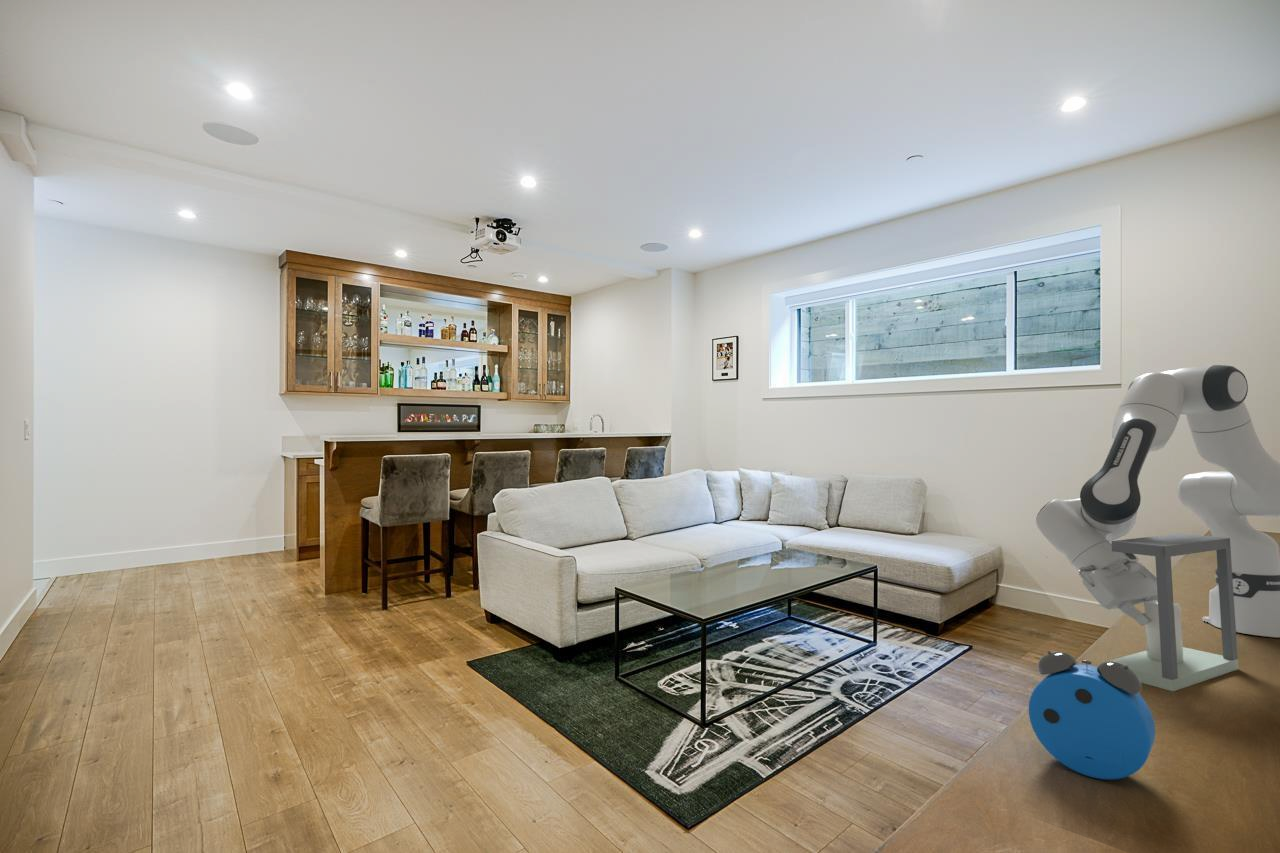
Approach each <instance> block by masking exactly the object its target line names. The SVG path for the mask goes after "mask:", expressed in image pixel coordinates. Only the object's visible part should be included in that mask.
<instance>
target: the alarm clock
mask: <svg viewBox="0 0 1280 853" xmlns="http://www.w3.org/2000/svg"><path fill="white" fill-rule="evenodd" d="M1081 663H1082V664H1078V661H1077V660H1076V659H1075V658H1074V657H1073V656H1072V655H1071V654H1069V653H1067V652H1063V651H1052V652H1051V651H1050V650H1048V651H1047V653H1046V654H1044V655H1042V656H1041V657H1040V658H1039V660H1038V662H1037V670H1038V672H1039V674H1040V675H1042V676H1044V675H1046V676H1045V677H1044V678H1043V679H1042V680H1041V681H1040V682H1039V683H1038V684H1037V685H1036V686H1035V688H1034V689H1033V690H1032V692H1031V695H1030V697H1029V701H1028V717H1029V721H1030V725H1031V728H1032V729H1033V732H1034V734H1035V736H1036V737H1037V738H1036V739H1038V741H1039V742H1040V744H1041V745H1042V746H1043V747H1044V748H1045V750H1046V751H1047V752H1048V753H1049V754H1050V755H1051V756H1052V757H1053V758H1054V759H1056V760H1057V761H1058V762H1059V763H1060V764H1062V765H1064V766H1065V767H1067V768H1068V769H1070V770H1073V771H1074V772H1076V773H1079V774H1081V775H1083V776H1087V777H1090V778H1094V779H1099V780H1119V779H1120V780H1121V779H1124V778H1126V777H1129V776H1130V777H1131V775H1134V774H1135V773H1137V772H1138V771H1140V769H1141V768H1142V767H1143V766H1144V765H1145V764H1146V763H1147V760H1148V758H1149V756H1150V753H1151V750H1152V747H1153V745H1154V743H1155V737H1156V725H1155V720H1154V716H1153V715H1152V712H1151V709H1150V707H1149V706H1148V704H1147V702H1146V701H1145V699H1144V698H1143V697H1142V696H1141V694H1140V693H1141V691H1142V686H1143V685H1142V683H1141V681H1140V679H1139V678H1138V676H1137V675H1136V674H1135V673H1134V672H1133V671H1132V670H1131V669H1130V668H1128V666H1127V665H1126V666H1125V665H1123V664H1120V663H1117V662H1112V661H1109V660H1106V661H1103V662H1101V663H1099V664H1098V665H1097V666H1093V665H1092V661H1091V660H1085V659H1081Z"/></svg>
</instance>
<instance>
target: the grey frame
mask: <svg viewBox="0 0 1280 853" xmlns="http://www.w3.org/2000/svg"><path fill="white" fill-rule="evenodd" d="M1110 543H1111V544H1112V551H1113V552H1122V553H1130V554H1135V555H1141V556H1150V557H1154V558H1155V571H1156V575H1155V576H1156V577H1157V594H1158V612H1159V629H1160V646H1161V661H1156V660H1153V659H1150V658H1148V657H1147V649H1146V650H1143V651H1140V652H1139V651H1138V652H1136V653H1132V654H1127V655H1125V656H1121V657H1116V658H1113V659H1110V660H1108V661H1112V662H1117V663H1120V664H1123V665H1125V666H1126V665H1127V666H1128V668H1130V669H1131V670H1132V671H1133V672H1134V673H1135V674H1136V675H1137V676H1138V678H1139V679H1140V681H1141V684H1144V685H1148V686H1152V687H1156V688H1159V689H1163V690H1167V691H1169V692H1175V691H1178V690H1183V689H1184V688H1188V687H1190V686H1193V685H1196V684H1199V683H1203V682H1205V681H1207V680H1211V679H1214V678H1217V677H1221V676H1223V675H1225V674H1229V673H1230V672H1231V673H1232V672H1234V671H1237V670H1239V660H1238V658H1239V657H1238V656H1239V654H1238V644H1237V643H1238V642H1237V641H1238V640H1237V632H1236V624H1235V609H1234V594H1233V578H1232V563H1231V548H1230V538H1223V537H1213V536H1210V535H1207V536H1206V535H1197V534H1183V533H1172V534H1165V535H1164V534H1162V535H1154V536H1147V537H1145V536H1144V537H1136V538H1126V539H1119V540H1111V541H1110ZM1212 551H1215V553H1217V556H1216V563H1217V564H1216V565H1217V566H1216V567H1217V568H1218V584H1219V599H1220V615H1221V628H1220V629H1221V631H1220V632H1221V644H1222V645H1221V646H1222V655H1221V654H1217V653H1213V652H1208V651H1205V650H1204V651H1203V650H1198V649H1194V648H1190V647H1185V646H1183V660H1184V662H1183V663H1177V653H1176V637H1175V620H1174V603H1175V602H1174V590H1173V589H1174V588H1173V587H1174V586H1173V575H1172V574H1173V572H1172V571H1173V570H1172V557H1177V556H1178V557H1179V556H1186V555H1192V554H1198V553H1205V552H1212ZM1217 568H1216V569H1217Z"/></svg>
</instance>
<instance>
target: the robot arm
mask: <svg viewBox="0 0 1280 853" xmlns="http://www.w3.org/2000/svg"><path fill="white" fill-rule="evenodd" d="M1248 392H1249V385H1248V380H1247V378H1246V375H1245V374H1244V373H1243V372H1242V371H1241V370H1239V369H1238V368H1237V367H1235V366H1231V365H1225V364H1224V365H1222V364H1214V365H1211V366H1188V367H1180V368H1178V369H1170V370H1165V371H1158V372H1157V371H1155V372H1147V373H1144V374H1142V375H1138V376H1137V377H1135V378H1134V379H1133V380H1132V381H1131V383H1130V384H1129V386H1128V389H1127V391H1126V393H1125V394H1124V396H1123V398H1122V400H1121V402H1120V405H1119V406H1118V409H1117V410H1116V411H1117V412H1116V414H1115V417H1114V420H1113V425H1112V431H1111V437H1112V439H1113V442H1112V445H1111V446H1110V449H1109V452H1108V454H1107V455H1106V456H1107V457H1106V459H1105V460H1104V463H1103V465H1102V467H1101V468H1100V469H1099V470H1098V472H1097V473H1095V474H1094V475H1093V476H1092V477H1090V478H1089V479H1088V480H1087V481H1086V482H1085V483H1084V484H1083V486H1082V487H1081V489H1080V493H1079V498H1075V499H1059V498H1058V499H1057V498H1055V499H1052V500H1050V501H1049V502H1047V503H1046V504H1045V505H1043V506H1042V507H1041V508H1040V510H1039V512H1038V513H1037V515H1036V519H1035V522H1036V523H1035V524H1036V526H1037V528H1038V529H1039V531H1040V532H1041V534H1042V535H1043V536H1044V537H1045V538H1046V539H1047V540H1048V542H1049V543H1050V544H1051V545H1052V546H1053V548H1055V549H1056V550H1057V552H1060V553H1062V555H1065V557H1066V558H1067V560H1068V561H1069V563H1070V565H1072V566H1073V568H1074V569H1075V570H1077V572H1079V574H1078V575H1079V577H1080V578H1082V580H1081V582H1082V585H1083V586H1084V587H1085V589H1086V590H1087V591H1088V592H1089V593H1090V595H1091V596H1092V597H1093V598H1094V599H1095V601H1097V602H1098V604H1099V605H1100V606H1101V607H1103V608H1104V609H1106V610H1108V611H1109V610H1115V609H1120V611H1121V612H1122V613H1123V614H1125V615H1127V616H1128V617H1130V618H1132V619H1134V621H1136V622H1137V623H1138V624H1139V625H1140V626H1145V625H1147V624H1148V623H1150V622H1151V619H1150V618H1149V617H1148V616H1147V615H1146V614H1145V612H1142V611H1141V610H1139V609H1138V608H1137V607H1135V605H1139V604H1140V605H1141V604H1144V601H1145V600H1158V594H1157V577H1156V575H1155V574H1154V573H1153V572H1152V571H1150V569H1149V568H1148V567H1146V565H1144V564H1142V563H1140V562H1139V561H1140V558H1139V557H1138V556H1137V554H1130V553H1122V552H1113V551H1112V543H1111V541H1115V540H1116V539H1118V538H1121V537H1123V536H1126V535H1127V534H1129V533H1130V532H1131V531H1132V530H1133V528H1134V526H1135V525H1136V521H1137V514H1138V510H1139V507H1140V504H1141V498H1142V497H1141V492H1140V488H1139V484H1138V483H1139V482H1138V480H1139V477H1140V474H1141V471H1142V468H1143V467H1144V463H1145V461H1146V459H1147V457H1148V455H1149V453H1152V452H1156V451H1159V450H1161V449H1163V448H1164V447H1165V446H1166V444H1167V443H1168V442H1169V440H1170V439H1171V437H1172V435H1173V434H1174V432H1175V430H1176V428H1177V425H1178V423H1179V419H1180V416H1181V415H1186V420H1187V424H1188V427H1189V430H1190V432H1191V435H1192V439H1193V442H1194V444H1195V447H1196V450H1197V453H1198V454H1199V456H1200V457H1201V458H1202V459H1203V460H1205V461H1206V462H1208V463H1209V464H1210V463H1211V464H1213V465H1216V466H1218V467H1220V468H1223V469H1224V471H1220V470H1219V471H1218V470H1212V471H1211V470H1209V471H1208V470H1207V471H1201V472H1194V473H1189V474H1186V475H1184V476H1183V477H1182V478H1181V480H1179V483H1178V485H1177V489H1176V491H1177V497H1178V499H1179V501H1180V502H1181V504H1182V505H1183V506H1185V508H1187V509H1188V510H1190V511H1192V512H1193V513H1194V514H1196V516H1198V517H1199V518H1200V519H1201V520H1202V521H1203V523H1205V525H1206V526H1207V528H1208V530H1209V532H1210V533H1211V535H1212V536H1211V537H1223V538H1230V548H1231V563H1232V578H1233V594H1234V609H1235V624H1236V633H1241V634H1245V635H1246V634H1247V635H1252V636H1261V637H1269V638H1280V546H1279V544H1278V543H1277V541H1276V540H1275V539H1274V538H1273V537H1272V536H1270V535H1269V534H1267V533H1265V532H1263V531H1261V530H1258V529H1256V528H1254V527H1253V525H1251V523H1250V522H1249V520H1248V519H1247V516H1249V517H1250V516H1251V517H1265V518H1266V517H1267V518H1268V517H1269V518H1280V462H1279V461H1277V460H1276V459H1275V458H1273V457H1272V456H1271V455H1270V454H1269V453H1268V451H1266V449H1265V448H1264V447H1263V445H1262V443H1261V441H1260V439H1259V437H1258V434H1257V432H1256V429H1255V427H1254V424H1253V421H1252V419H1251V415H1250V413H1249V411H1248V408H1247V406H1246V403H1245V402H1244V401H1245V400H1246V398H1247V397H1248ZM1215 553H1216V552H1215ZM1215 555H1216V556H1215V557H1217V553H1216V554H1215ZM1214 571H1215V573H1214V578H1215V583H1216V584H1217V585H1216V586H1215V587H1214V588H1212V589H1210V590H1209V599H1208V600H1209V601H1208V602H1209V603H1208V604H1209V605H1208V615H1207V616H1206V615H1205V616H1203V617H1202V620H1203V622H1204V621H1205V623H1207V622H1208V624H1211V625H1212V626H1214V627H1216V628H1219V629H1221V615H1220V599H1219V584H1218V568H1216V569H1215V570H1214Z"/></svg>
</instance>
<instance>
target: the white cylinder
mask: <svg viewBox="0 0 1280 853" xmlns="http://www.w3.org/2000/svg"><path fill="white" fill-rule="evenodd" d="M1173 603H1174V620H1175V637H1176V653H1177V663H1183V662H1184V660H1183V647H1184V645H1183V630H1182V629H1183V628H1182V627H1183V626H1182V612H1181V611H1182V610H1181V607H1182V606H1181V604H1179V603H1176V602H1173ZM1143 604H1144V605H1143V606H1144V607H1143V608H1144V613H1145V614H1146V615H1147V616H1148V617H1149V618H1150V619H1151V622H1150V623H1148V624H1147V625H1144V626H1145V642H1146V644H1145V645H1146V650H1147V657H1148V658H1150V659H1153V660H1156V661H1161V646H1160V629H1159V612H1158V600H1145V601H1144V603H1143Z"/></svg>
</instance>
